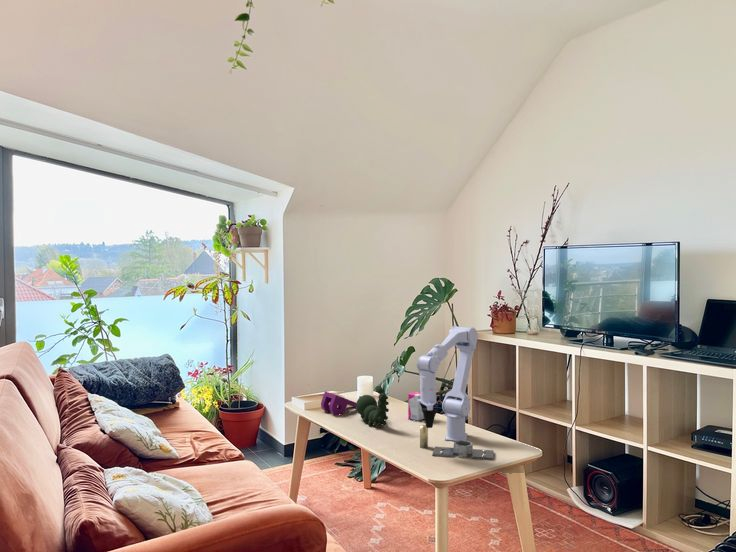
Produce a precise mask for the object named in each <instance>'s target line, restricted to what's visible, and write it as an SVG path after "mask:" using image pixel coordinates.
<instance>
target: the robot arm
mask: <svg viewBox="0 0 736 552" xmlns="http://www.w3.org/2000/svg"><path fill="white" fill-rule="evenodd" d="M478 339H479V334H478V331H477V329H476V328H475V327H473V326H472V327H468V326H467V327H465V326H456V325H453V326H452V327H451V328H450V329H449V331H448V335H447V336H446V338H445V339H444V340H443V341H442V343H441V344H440V343H438V344H435V345H434V346H433V347H432V348H431V350H429V351H428V352H427V353H426V354H424V355H421V356H419V357H418V358H417V363H416V368H417V370H418V375H419V384H420V385H419V390H420V392H419V393H420V399H418V400H417V402H418V403H420V405H421V407H422V408H421V409H422V412H423V416H424V420H423V421H424V423H425V425H426V427H427V428H428V429H433V426H434V421H435V417H436V415H437V413H438V408H434V407H435V404H437V384H436V383H437V377H436V375H437V373H436V372H438V370H439V368H440V366H441V362H442V361H444V359H445V358H447V356H448V352H449V350H451V349H452V348H453V347H456V348H458V349H459V356H458V361H457V365H456V369H455V376H454V379H453V384H452V389H450V390H449V391H447V392H446V393H445V396H444V399H443V401H442V405H441V407H442V408H441V409H442V411H443V412H444V415H445V416H446V435H445V441H451V442H453V441H459V440H465V441H467V438H468V433H467V432H466V417H467V416H468V415H469V413H470V410H471V398H470V397H469V395H468V394H467V392H466V390H467V386H468V381H469V375H470V371H471V366H472V362H473V356H474V351H475V350H476V349H477V344H478Z"/></svg>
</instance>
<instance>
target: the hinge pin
mask: <svg viewBox="0 0 736 552" xmlns="http://www.w3.org/2000/svg"><path fill="white" fill-rule="evenodd" d="M428 447H429V428H427V427H426V424H420V425H419V448H420V449H427V448H428Z"/></svg>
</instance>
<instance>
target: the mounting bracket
mask: <svg viewBox="0 0 736 552" xmlns="http://www.w3.org/2000/svg"><path fill="white" fill-rule="evenodd" d="M356 403H357V401H356V402H355V401H352V400H350V399H348V398H346V397H343V396H340V395H338V394H334V393H332V392H328V391H324V394H323V395H322V399H321V401H320V407H321V409H322V410H323V411H324V412H327V413H331V415H335V416H340V415H339V414H342V415H344V413H346V409H347V407H348V406H350V407H352V408H355V409H356Z"/></svg>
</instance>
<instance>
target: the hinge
mask: <svg viewBox="0 0 736 552" xmlns="http://www.w3.org/2000/svg"><path fill="white" fill-rule="evenodd" d="M473 446H474V443H473V442H472V441H470V440H466V441H465V440H459V441H454V442H453V447H451V446H450V447H448V446H447V447H446V446H434V449H433V451H432V457H442V458H454V456H456V457H457V456H458V458H470V457H471V459H474V460H483V461H484V460H486V461H494V456H493V455H494V452H495V451H494V450H493V449H476V448H473Z"/></svg>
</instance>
